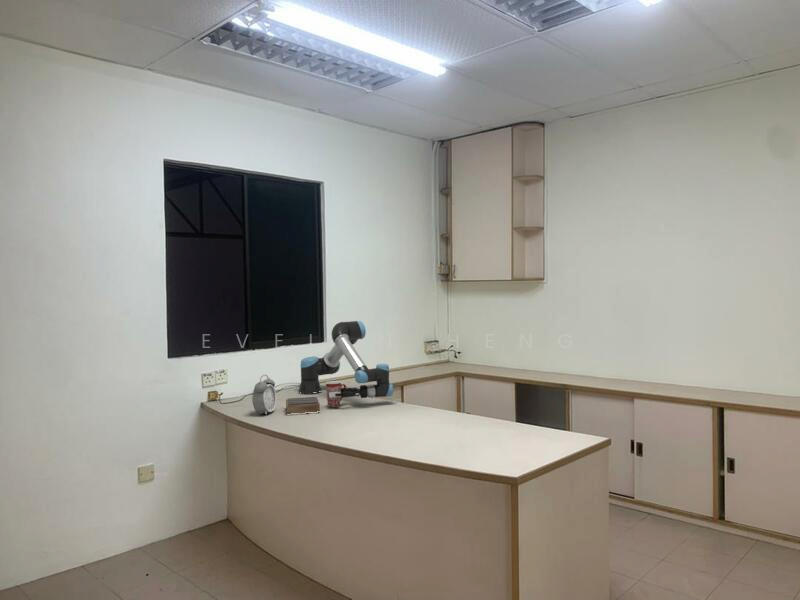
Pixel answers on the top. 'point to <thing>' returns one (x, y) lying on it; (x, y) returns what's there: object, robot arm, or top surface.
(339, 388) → the mug
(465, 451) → the top surface
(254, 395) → the alarm clock
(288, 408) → the walnut stand
